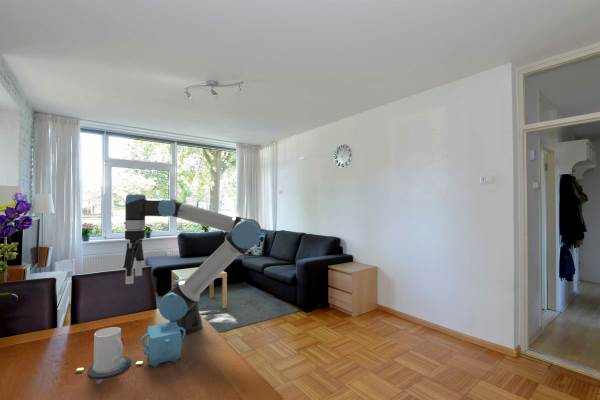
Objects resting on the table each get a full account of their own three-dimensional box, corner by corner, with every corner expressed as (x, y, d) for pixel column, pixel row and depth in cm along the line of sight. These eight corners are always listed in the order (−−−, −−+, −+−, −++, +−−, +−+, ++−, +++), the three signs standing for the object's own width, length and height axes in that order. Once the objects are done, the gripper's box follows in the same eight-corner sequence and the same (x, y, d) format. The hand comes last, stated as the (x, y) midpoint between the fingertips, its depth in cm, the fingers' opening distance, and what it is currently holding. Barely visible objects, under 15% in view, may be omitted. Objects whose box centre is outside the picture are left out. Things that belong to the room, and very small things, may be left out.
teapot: (139, 356, 115) (140, 323, 115) (182, 346, 123) (183, 315, 123) (142, 380, 99) (142, 342, 99) (190, 368, 107) (191, 332, 107)
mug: (131, 364, 107) (132, 331, 107) (107, 377, 99) (108, 341, 99) (111, 356, 112) (112, 325, 112) (87, 367, 104) (88, 333, 104)
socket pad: (146, 355, 115) (146, 352, 115) (134, 380, 99) (134, 377, 99) (84, 362, 110) (85, 359, 110) (60, 390, 93) (60, 386, 93)
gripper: (133, 227, 138) (132, 273, 137) (115, 232, 114) (114, 288, 113) (151, 227, 140) (150, 272, 139) (136, 232, 116) (135, 286, 115)
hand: (134, 279), depth 126 cm, fingers open, 13 cm apart
